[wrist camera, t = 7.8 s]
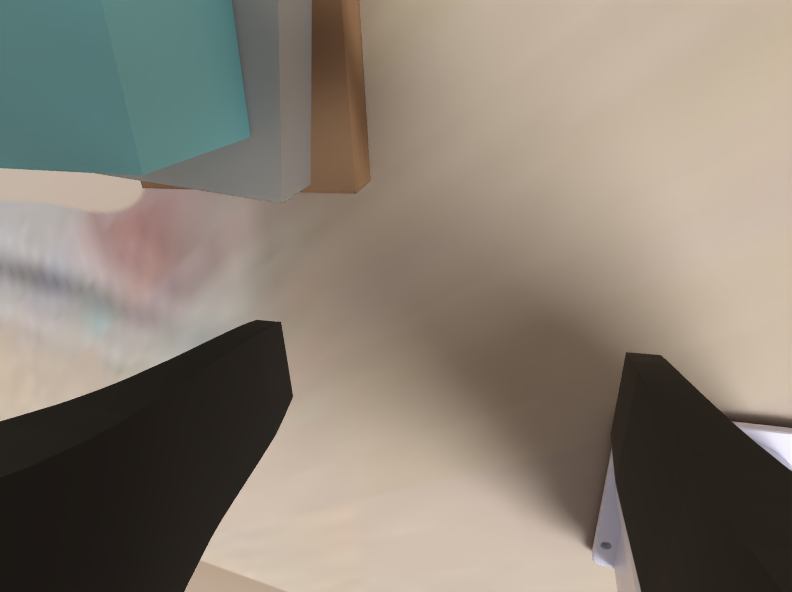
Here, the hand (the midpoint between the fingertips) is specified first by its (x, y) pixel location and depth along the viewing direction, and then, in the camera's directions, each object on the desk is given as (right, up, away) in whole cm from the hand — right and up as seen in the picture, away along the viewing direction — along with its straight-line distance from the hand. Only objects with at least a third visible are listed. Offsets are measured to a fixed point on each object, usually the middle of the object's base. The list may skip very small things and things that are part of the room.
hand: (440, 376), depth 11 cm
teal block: (-8, +9, +5) cm, 13 cm away
